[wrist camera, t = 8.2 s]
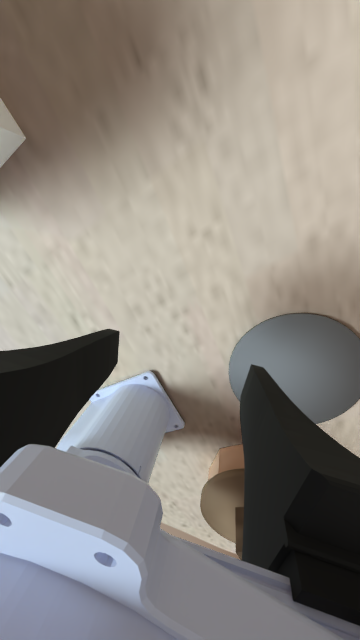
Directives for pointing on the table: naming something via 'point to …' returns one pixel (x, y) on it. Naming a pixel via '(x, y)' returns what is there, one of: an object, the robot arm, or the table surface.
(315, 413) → the mat
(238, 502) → the lid
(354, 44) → the table surface
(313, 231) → the table surface
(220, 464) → the bowl
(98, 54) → the table surface
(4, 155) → the milk
